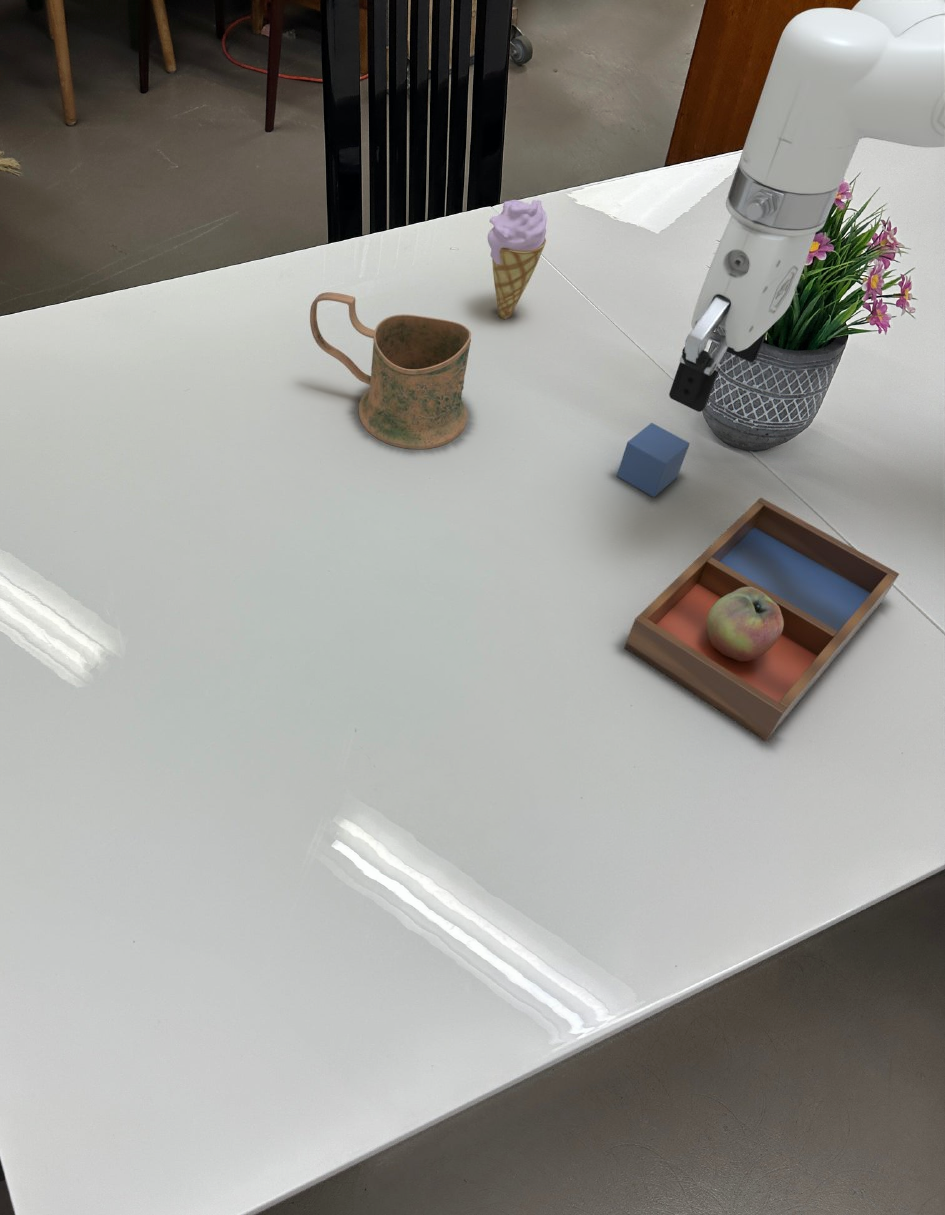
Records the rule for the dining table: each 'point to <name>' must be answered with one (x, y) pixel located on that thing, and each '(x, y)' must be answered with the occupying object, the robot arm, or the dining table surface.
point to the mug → (408, 376)
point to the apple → (744, 624)
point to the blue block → (652, 459)
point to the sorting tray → (791, 577)
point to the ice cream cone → (515, 250)
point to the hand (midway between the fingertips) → (712, 378)
